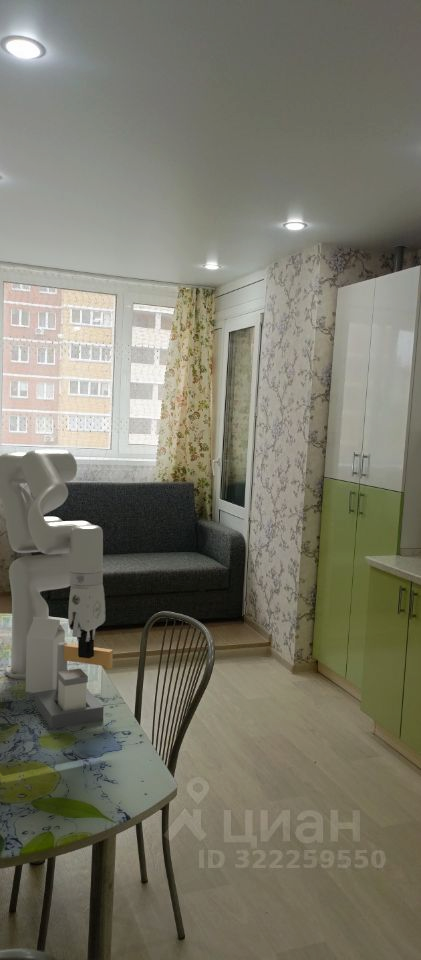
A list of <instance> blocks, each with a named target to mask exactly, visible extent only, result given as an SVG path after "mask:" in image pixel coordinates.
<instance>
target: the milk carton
mask: <svg viewBox="0 0 421 960" xmlns="http://www.w3.org/2000/svg"><path fill="white" fill-rule="evenodd" d="M58 643H66V631H65V629H64V628H63V626H62V625H61V619H59V618H58V619H57V618H39V617H33V622H32V625H31V627H30V630H29V632H28V635H27V650H26V679H25V693H32V694H35V692H42V691H48V690H54V689H56V688H57V644H58Z"/></svg>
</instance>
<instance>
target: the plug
mask: <svg viewBox="0 0 421 960" xmlns="http://www.w3.org/2000/svg"><path fill="white" fill-rule="evenodd" d="M58 679H59V683H58V707H59V708H60V709H61V711H62V712H63V711H69V710H74V709H80V708H86V688H87V684H88V683H89V677H88V675H87V674H86V673H85V672H84V671H83V669H81V668H75V669H67V670H66V671H59V672H58Z"/></svg>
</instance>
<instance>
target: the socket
mask: <svg viewBox="0 0 421 960" xmlns="http://www.w3.org/2000/svg"><path fill="white" fill-rule="evenodd" d="M102 704H103V703H101V702H100V701H99V700H98V699H97V698H96V697H95V696H94V694H92V692H91V691H90V690H89V689H88V688H87V687H86V708H80V709H74V710H69V711H63V712H62V711H61V709H60V708H59V707H58V691H57V690H56V689H54V690H48V691H42V692H35V693H34V707H36V709H37V710H38V711H39V714H40V715H41V716H42V717H43V718H44V721H45V722H46V723H47V725H48V726H49V728H50V729H51V730H53V729H59V728H65V727H70V726H76V725H81V724H87V723H92V722H96V721H97V722H98V721H103V720H104V705H102Z"/></svg>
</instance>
